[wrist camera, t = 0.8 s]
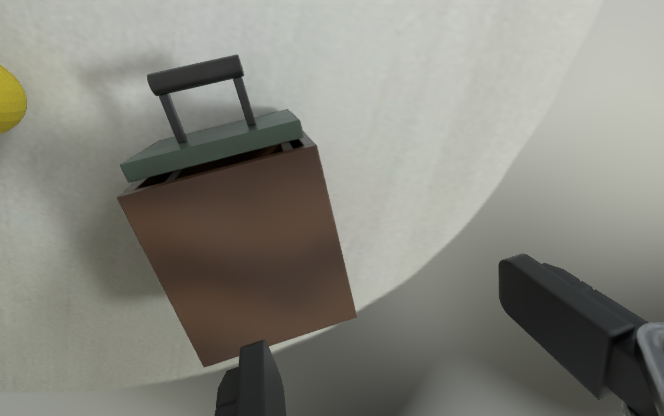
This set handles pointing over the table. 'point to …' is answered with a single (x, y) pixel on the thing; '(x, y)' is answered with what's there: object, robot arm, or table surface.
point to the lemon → (10, 101)
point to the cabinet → (245, 250)
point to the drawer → (213, 143)
